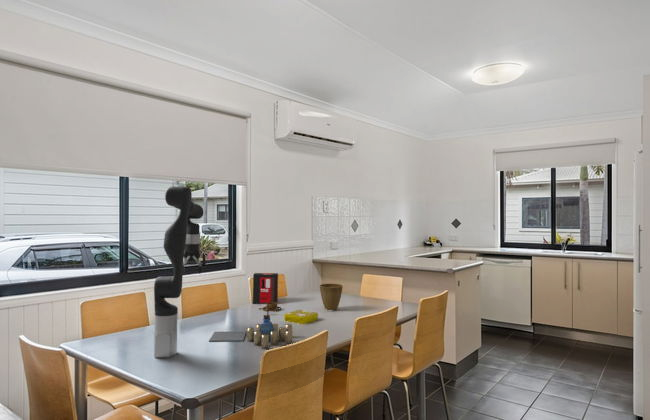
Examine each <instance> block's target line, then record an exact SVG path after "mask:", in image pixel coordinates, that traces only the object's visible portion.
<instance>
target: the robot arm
mask: <svg viewBox="0 0 650 420" xmlns="http://www.w3.org/2000/svg"><path fill="white" fill-rule="evenodd" d="M164 195H165V196H164V197H165V199H164V200H165V202H166V204H167V205H168V206H170V207H174V208H175V209H177V210H179V212H178V215H177V216H176V217H175V219H174V220H173V221H172V223H170V224H169V226H168V227H167V228H166V230H165V233H164V237H163V250H164V252H165V253H166V255H167V257H168V259H169V261H170V263H171V266H172V269H173V276H169V275H168V276H166V275H165V276H157V277H156V278H155V281H154V284H153V297H154V333H153V334H154V336H153V337H154V338H153V356H154V358H171V357H174V356H176V355H177V353H178V319H179V318H178V317H179V316H178V315H179V314H178V313H179V312H178V310H179V309H178V306H176V305H174V304H172V303H170V302H168V301H167V300H166V299H179V298H180V296H181V294H182V289H183V275H184V274H185V265H186V264H187V263H196V264H197V265H198V274H199V275H200V274H201V273H203V266H205V265H207V264H206V263H207V258H206V253H200V251H201V250H200V247H201V246H200V244H201V239H200V237H201V236H200V224H199V223H197V222H196V223H195V222H192V220H193V219H195V220H198V219H201V218H203V216H204V208H203V207H202V206H201V205H199V204H197V203H195V202H194V201H193V200H192V195H193V193H192V190H191V188H190V187H189V186H169V187H167V189H166V190H165V193H164ZM200 257H201V259H202V262H201V260H200Z"/></svg>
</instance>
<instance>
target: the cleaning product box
mask: <svg viewBox="0 0 650 420" xmlns="http://www.w3.org/2000/svg"><path fill="white" fill-rule="evenodd" d="M252 277H253V279H252V280H253V281H252V282H253V283H252V305H267V303H268V302H276V303H277V302H279V296H278V295H279V272H275V273H274V272H272V273H271V272H263V273H262V272H254V274H253V276H252ZM277 304H278V303H277Z"/></svg>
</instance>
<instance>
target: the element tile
mask: <svg viewBox="0 0 650 420" xmlns="http://www.w3.org/2000/svg"><path fill="white" fill-rule="evenodd" d="M283 315H284V319H283V321H284V320H285V321H284V322H287V321H288V323H292V322H294V323H293V324H297V323H299V324H298V325H307V324H309V322H310V323H313V322H316V321H315V320H317V319H318V320H319V317H318V316H319V314H318V312H313V311H309V310H303V309H297V310H294V311H289V312H286V313H284V314H283ZM318 320H317V321H318ZM312 321H313V322H312ZM306 323H307V324H306Z"/></svg>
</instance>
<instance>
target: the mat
mask: <svg viewBox="0 0 650 420" xmlns="http://www.w3.org/2000/svg"><path fill="white" fill-rule="evenodd" d="M246 335H247V331H245V330H244V331H239V330H238V331H233V330H232V331H214V332H213V333H212V335H211V337H210V338H209V339H208V342H209V343H212V342H213V343H216V342H217V343H218V342H220V343H221V342H222V343H224V342H227V343H229V342H234V343H235V342H244V339H245V337H246Z"/></svg>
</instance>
